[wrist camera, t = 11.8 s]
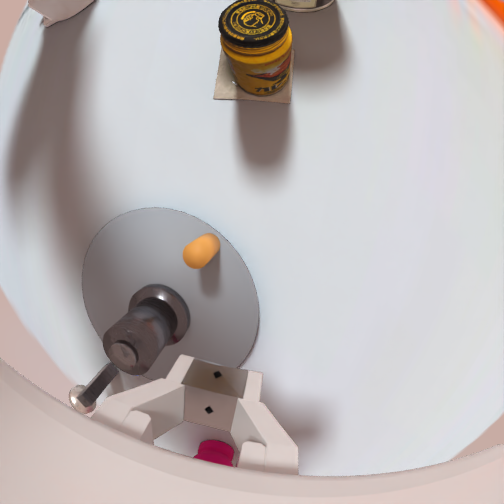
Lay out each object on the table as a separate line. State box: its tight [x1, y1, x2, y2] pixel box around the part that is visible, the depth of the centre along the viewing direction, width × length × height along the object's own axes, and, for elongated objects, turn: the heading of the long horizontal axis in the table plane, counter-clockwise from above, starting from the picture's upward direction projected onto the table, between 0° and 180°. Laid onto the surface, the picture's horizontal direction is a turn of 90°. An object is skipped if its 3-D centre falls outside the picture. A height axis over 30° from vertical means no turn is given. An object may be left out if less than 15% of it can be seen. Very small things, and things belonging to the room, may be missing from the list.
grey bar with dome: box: [69, 362, 119, 414], centre depth 32 cm, size 4×3×10 cm
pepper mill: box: [193, 440, 234, 467], centre depth 30 cm, size 7×7×20 cm
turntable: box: [82, 207, 259, 381], centre depth 29 cm, size 24×24×6 cm
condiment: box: [214, 0, 295, 103], centre depth 20 cm, size 7×8×12 cm
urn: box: [103, 284, 190, 375], centre depth 26 cm, size 8×8×10 cm
